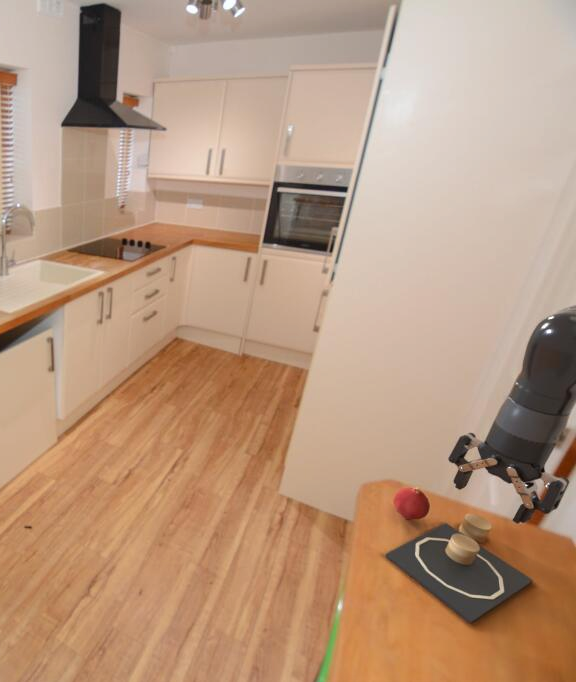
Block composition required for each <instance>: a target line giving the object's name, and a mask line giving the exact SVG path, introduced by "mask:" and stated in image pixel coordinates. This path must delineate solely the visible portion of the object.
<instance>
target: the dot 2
mask: <svg viewBox="0 0 576 682" xmlns="http://www.w3.org/2000/svg"><path fill="white" fill-rule="evenodd" d="M478 544H479V543H478V542H476V541H474V540H473V539H472V538H470V537H468V536H466V535H462V534H454V535H452V537H451V539H450V541H449V543H448V545H447V547H446V549H445V551H446V554H447V555H448V556H449V557H450V558H451V559H452V560H454V561H455V562H457V563H460V564H463V565H470V564H472V563H473V561H474V559H475V557H476V556H477V554H478V552H479V550H480V547H479V545H480V544H479V545H478Z"/></svg>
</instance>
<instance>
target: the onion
mask: <svg viewBox="0 0 576 682" xmlns="http://www.w3.org/2000/svg"><path fill="white" fill-rule="evenodd" d="M392 503H393V506H394V509H395V510H396V511H397V513H398V514H399V515H400V516H401V517H402V518H403V519H405V520H416V521H417V520H418V521H419V520H421V519H423V518H425V517H427V515H428V514H429V512H430V508H431V505H430V502H429V498H428V497H427V496H426V494H425V493H424V492H423V491H422V490H421V489H420V488H419V487H404V488H402V489H399V490H398V491H397V492H396V493H395V494H394V497H393V499H392Z"/></svg>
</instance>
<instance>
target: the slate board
mask: <svg viewBox="0 0 576 682" xmlns="http://www.w3.org/2000/svg"><path fill="white" fill-rule="evenodd" d="M454 534H462V533H461V532H459V529H456V528H454V527H453V526H452V525H451V524H449V523H447V522H444V523H443V524H441V525H439V526H437V527H435V528H433V529H431V530H429V531H427V532H425V533H423V534H421V535H419V536H418V537H416V538H413V539H412V540H410V541H408V542H405V543H404V544H402V545H400V546H398V547H396V548H395V549H393V550H391V551H388V552H386V554H385V558H386V559H388V560H389V561H390V562H392V564H394V565H395V566H396V567H398V568H399V569H400V570H402V571H403V572H404V573H405V574H406V575H408V576H409V577H410V578H411V579H413V580H414V581H415V582H417V584H419V585H420V586H421V587H422V588H424V589H425V590H427V591H428V592H429V593H430V594H432V595H433V596H434V597H435V598H437V599H438V600H439V601H441V603H443V604H444V605H446V606H447V607H448V608H449V609H450V610H451V611H453V612H455V614H457V615H458V616H460V618H461V619H463V620H464V621H465V622H466V623H468V624H470V625H472V624H473V623H475V622H476V621H477V620H479V619H481V618H482V617H484V616H485V615H487V614H488V613H490V612H491V611H493V610H494V609H496V608H497V607H498V606H500V605H501V604H503V603H504V602H506V601H508V600H509V599H510V598H512V597H513V596H515V595H517V594H518V593H520V592H521V591H523V590H524V589H526V588H527V587H528V586H530V585H532V583H533V582H534V580H533V579H532V578H531V577H529V576H528V575H526V574H525V573H523V572H522V571H520V570H518V569H517V568H515V567H514V566H512V565H511V564H509V563H508V562H507V561H505V560H504V559H502V558H501V557H498V556H497V555H496V554H495V553H493V552H491V551H489V550H488V549H486V548H485V547H484V546H482V545H480V544H479V543H478V545H479V547H480V550H479V552H478V554H477V556H476V557H475V559H474V561H473V563H472V564H470V565H463V564H460V563H457V562H455V561H454V560H452V559H451V558H450V557H449V556H448V555H447V554H446V551H445V549H446V547H447V545H448V543H449V541H450V539H451V537H452V535H454ZM462 535H464V534H462Z"/></svg>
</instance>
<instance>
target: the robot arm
mask: <svg viewBox="0 0 576 682" xmlns="http://www.w3.org/2000/svg"><path fill="white" fill-rule="evenodd" d="M524 351H525V352H524V356H523V360H522V364H521V368H520V369H521V370H520V371H519V373H518V374H517V377H516V378H515V380H514V382H513V384H512V387H511V389H510V391H509V393H508V395H507V397H506V398H505V400H504V401H503V402H502V404H501V405H500V407H499V409H498V411H497V414H496V416H495V418H494V420H493V422H492V424H491V426H490V429H489V431H488V433H487V435H486V437H485V439H484V441H483V440H480V439H478V438H477V437H476V434H475V433H473V432H468V433H465V434H463V435H461V436H459V437H458V440H457V442H456V443H455V445H454V447H453V449H452V450H451V453H450V454H449V457H448V458H447V459H448V461H449V462H450V464H454V465H455V466H456V468H457V471H456V474H455V476H454V478H453V484H454V487H455V489H457V490H459V491H460V490H462V489H465V488H466V487H467V485H468V483H469V481H470V479H471V477H472V475H473V473H474V471H476V470H481V469H485V470H486V471H487V473H488V474H490V475H492V476H495V477H497V478H500V479H501V480H502V481H503V482H505V483H507V484H509V485H510V484H513V487H514V489H515V492H516V494H518V495H519V497H520V499H521V502H522V504H520V505H519V507H518V509H517V511H516V513H515V514H514V516H513V518H512V520H511V521H512V522H514V523H516V524H520V523H521V524H525V523H527V522H529V521H530V520H531V519H532V517H533V516H534V515H535V512H536V511H540V512H541V513H542V514H545V515H549V514H550V513H552V512H553V511H555V510H557V509H558V508H559V506H560V504H561V501H562V499H563V498H564V495H565V493H566V491H567V489H568V487H569V484H570V480H569V479H568V478H567V477H565V476H560V477H558V476H556V475H553V474H551V473H549V472H546V469H545V466H546V463H547V462H548V460H549V458H550V457H551V455H552V453H553V451H554V449H555V447H556V446H557V444H558V442H559V440H560V439H561V438H562V436H563V435H564V433H565V429H566V427H567V425H568V421H569V419H570V416H571V413H572V411H573V410H574V408H575V406H576V304H573V305H571V306H568V307H565V308H562V309H560V310H557V311H556V312H554V313H552V314H550V315H548V316H546V317H544V318H543V319H542V320H541V321H539V322H538V323H537V325H536V326H535V327H534V329H533V331H532V332H531V334H530V336H529V338H528V342H527V344H526V348H525V350H524ZM474 448H477V451H478V454H479V456H480V458H476V459H473V460H470V461H468V460H467V459H466V458H465V457H466V455H467V454H468V452H469V451H470V450H472V449H474ZM539 479H540V480H542V482H543V486H544V488H545V489H546V492H545V494H544V497H543V499H542V498H541V497H540V494H539V492H538V488H539V487H538V485H537V482H536V481H537V480H539Z"/></svg>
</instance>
